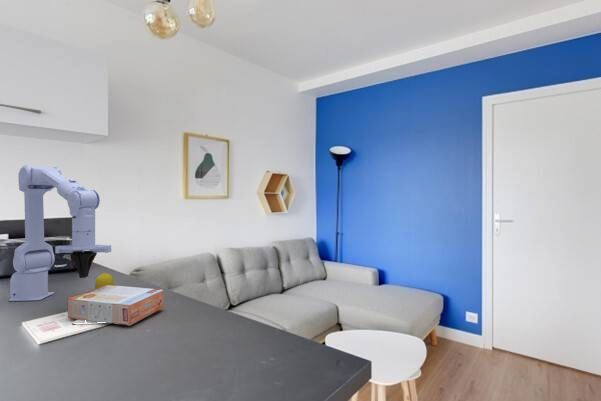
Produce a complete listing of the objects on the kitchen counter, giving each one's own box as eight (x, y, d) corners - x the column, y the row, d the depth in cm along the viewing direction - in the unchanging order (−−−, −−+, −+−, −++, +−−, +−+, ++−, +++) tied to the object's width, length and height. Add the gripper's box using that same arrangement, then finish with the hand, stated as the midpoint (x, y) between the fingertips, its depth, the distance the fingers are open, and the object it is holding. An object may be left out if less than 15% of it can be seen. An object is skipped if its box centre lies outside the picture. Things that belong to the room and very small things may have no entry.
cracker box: (66, 319, 93) (129, 326, 87) (66, 297, 92) (129, 303, 87) (108, 303, 106) (164, 308, 101) (107, 284, 106) (164, 288, 101)
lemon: (107, 298, 112) (107, 274, 112) (91, 298, 112) (91, 274, 112) (117, 293, 117) (117, 271, 117) (101, 293, 118) (101, 270, 117)
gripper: (48, 232, 94) (48, 280, 94) (103, 232, 95) (103, 279, 96) (63, 230, 101) (63, 274, 101) (114, 229, 102) (114, 274, 103)
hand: (83, 277), depth 99 cm, fingers closed
